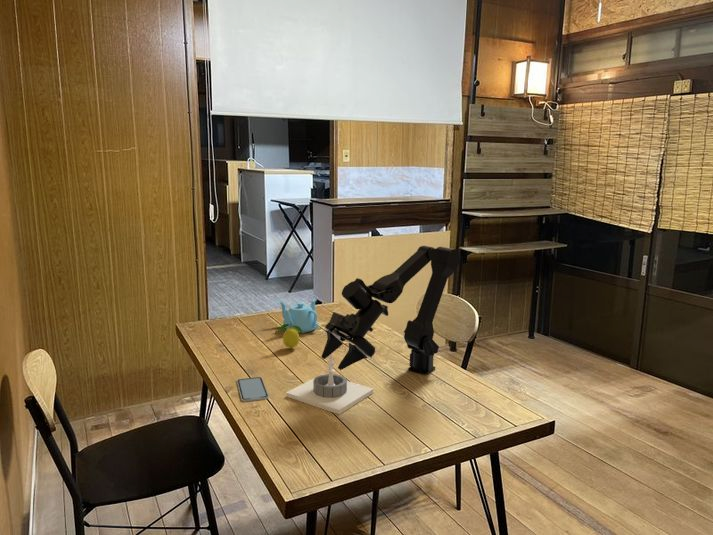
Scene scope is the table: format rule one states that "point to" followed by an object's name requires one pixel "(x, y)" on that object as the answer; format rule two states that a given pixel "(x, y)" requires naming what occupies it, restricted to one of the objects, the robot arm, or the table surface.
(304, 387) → the collar board
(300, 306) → the teapot
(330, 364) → the chess piece
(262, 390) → the smartphone
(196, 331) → the table surface
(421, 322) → the robot arm
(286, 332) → the lemon
